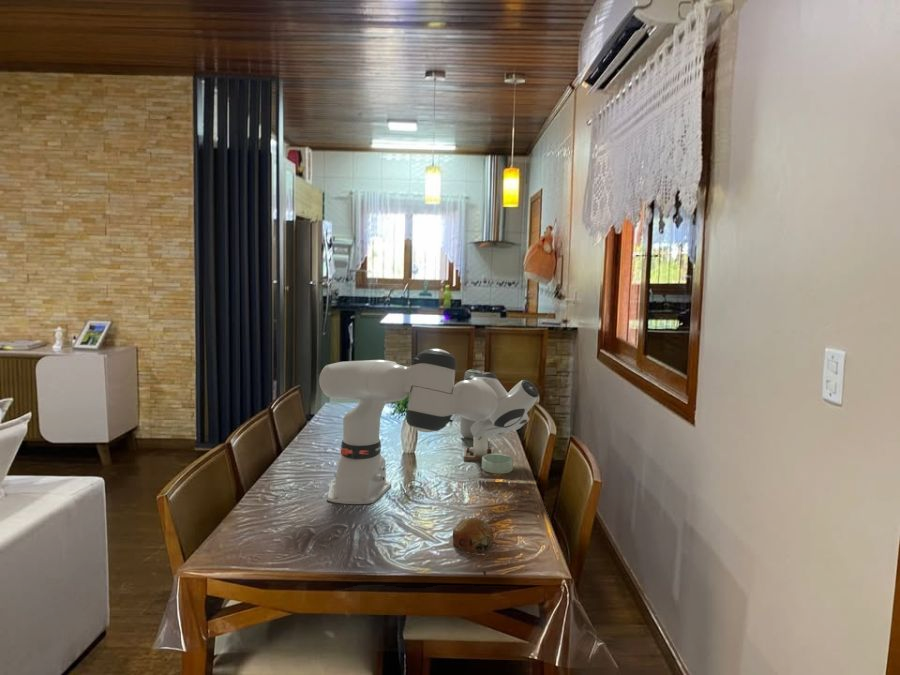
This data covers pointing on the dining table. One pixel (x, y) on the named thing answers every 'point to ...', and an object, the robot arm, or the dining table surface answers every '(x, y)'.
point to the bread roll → (473, 535)
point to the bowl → (497, 463)
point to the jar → (480, 446)
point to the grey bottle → (464, 422)
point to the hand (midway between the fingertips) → (487, 436)
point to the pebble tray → (477, 459)
